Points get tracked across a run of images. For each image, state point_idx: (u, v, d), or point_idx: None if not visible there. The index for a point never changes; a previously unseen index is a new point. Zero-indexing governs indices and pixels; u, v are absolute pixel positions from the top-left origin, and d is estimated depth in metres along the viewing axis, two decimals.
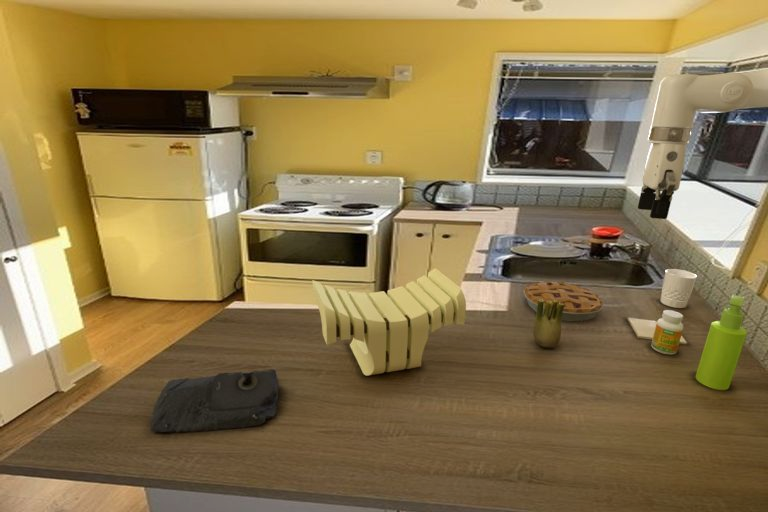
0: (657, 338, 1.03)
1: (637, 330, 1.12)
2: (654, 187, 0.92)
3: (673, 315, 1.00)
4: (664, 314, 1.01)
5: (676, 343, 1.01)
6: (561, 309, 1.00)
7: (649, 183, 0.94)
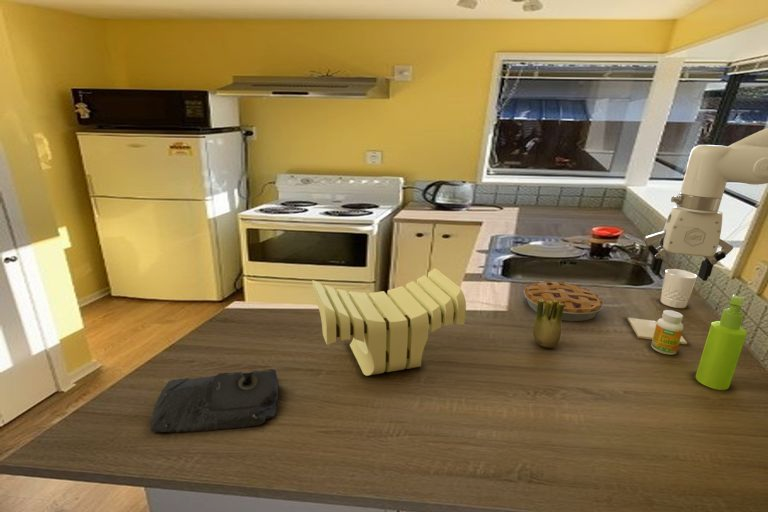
0: (657, 338, 1.03)
1: (637, 330, 1.12)
2: None
3: (673, 315, 1.00)
4: (664, 314, 1.01)
5: (676, 343, 1.01)
6: (561, 309, 1.00)
7: None
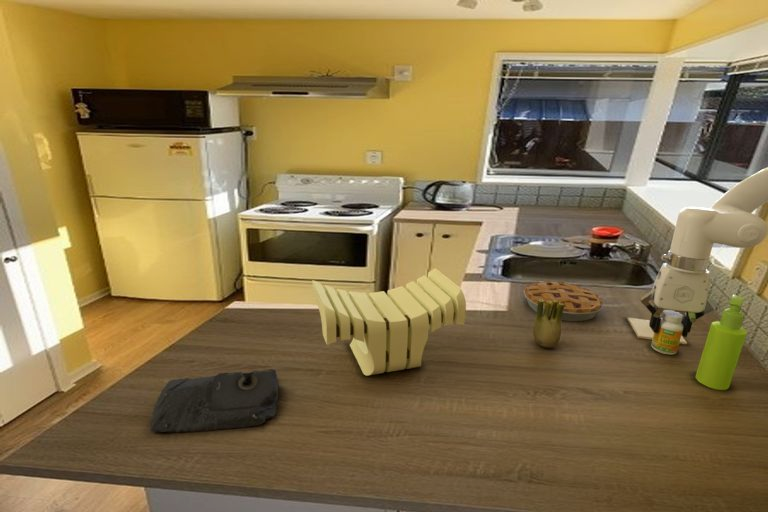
0: (657, 338, 1.03)
1: (637, 330, 1.12)
2: None
3: (673, 315, 1.00)
4: (664, 314, 1.01)
5: (676, 343, 1.01)
6: (561, 309, 1.00)
7: None
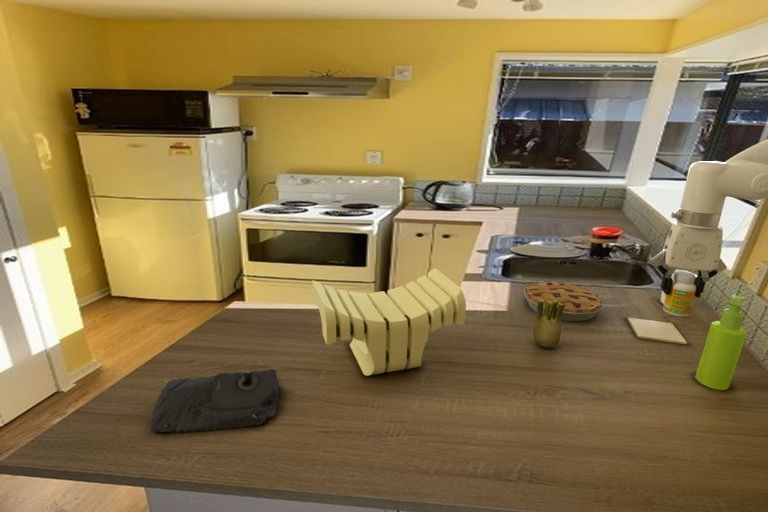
0: (669, 300, 1.00)
1: (637, 330, 1.12)
2: None
3: (685, 275, 0.97)
4: (676, 275, 0.98)
5: (689, 304, 0.98)
6: (561, 309, 1.00)
7: None
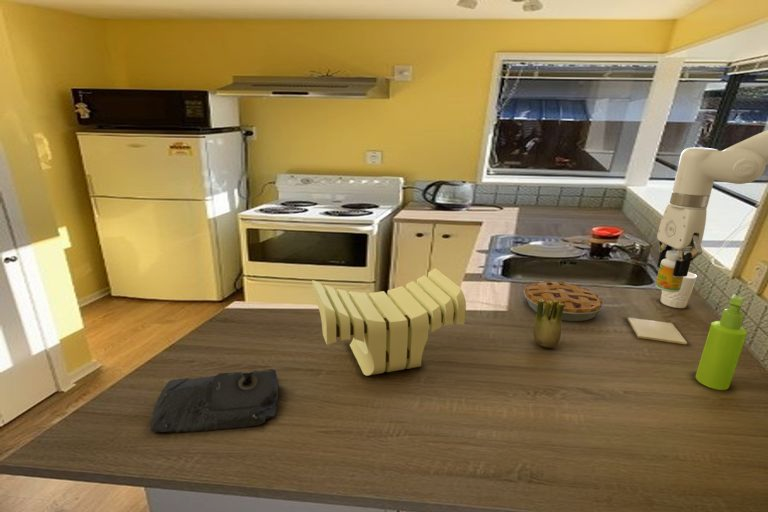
0: None
1: (637, 330, 1.12)
2: None
3: (671, 252, 1.06)
4: None
5: (664, 278, 1.07)
6: (561, 309, 1.00)
7: None
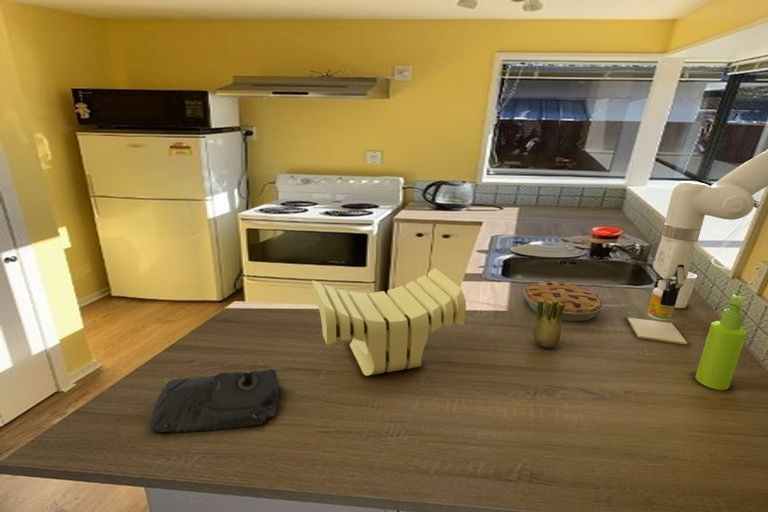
0: None
1: (637, 330, 1.12)
2: None
3: (663, 281, 1.09)
4: None
5: (653, 306, 1.10)
6: (561, 309, 1.00)
7: None
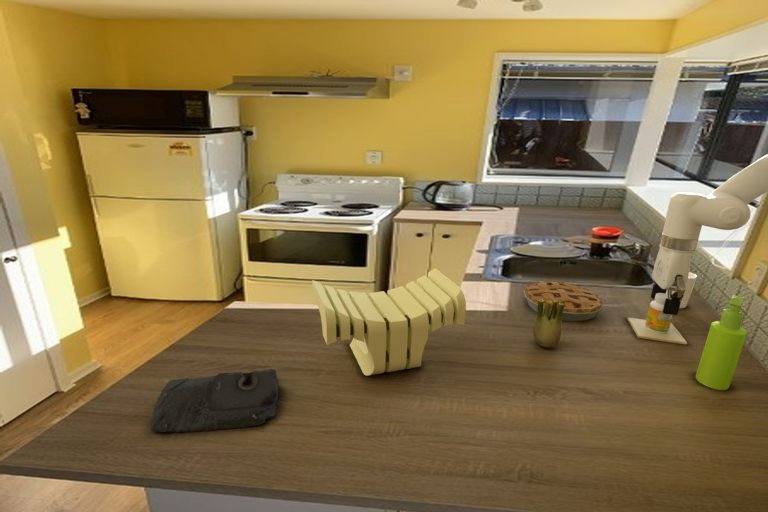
0: None
1: (637, 330, 1.12)
2: None
3: (660, 295, 1.10)
4: None
5: (650, 319, 1.11)
6: (561, 309, 1.00)
7: None
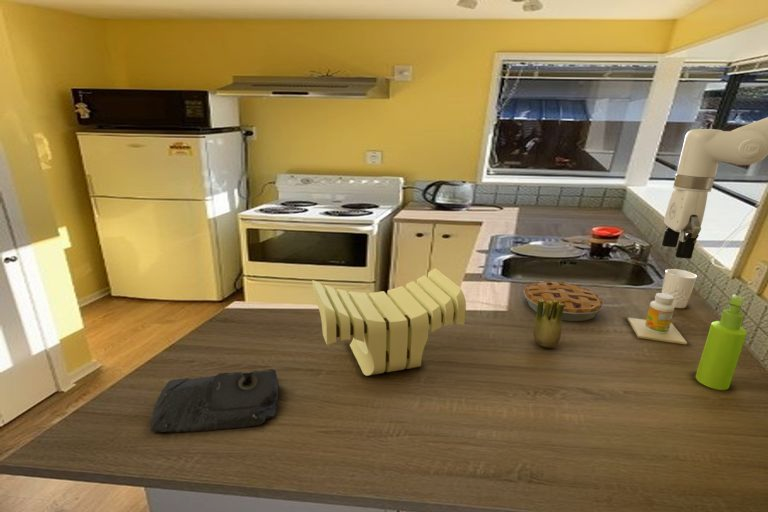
0: None
1: (637, 330, 1.12)
2: None
3: (660, 295, 1.10)
4: None
5: (650, 319, 1.11)
6: (561, 309, 1.00)
7: None
